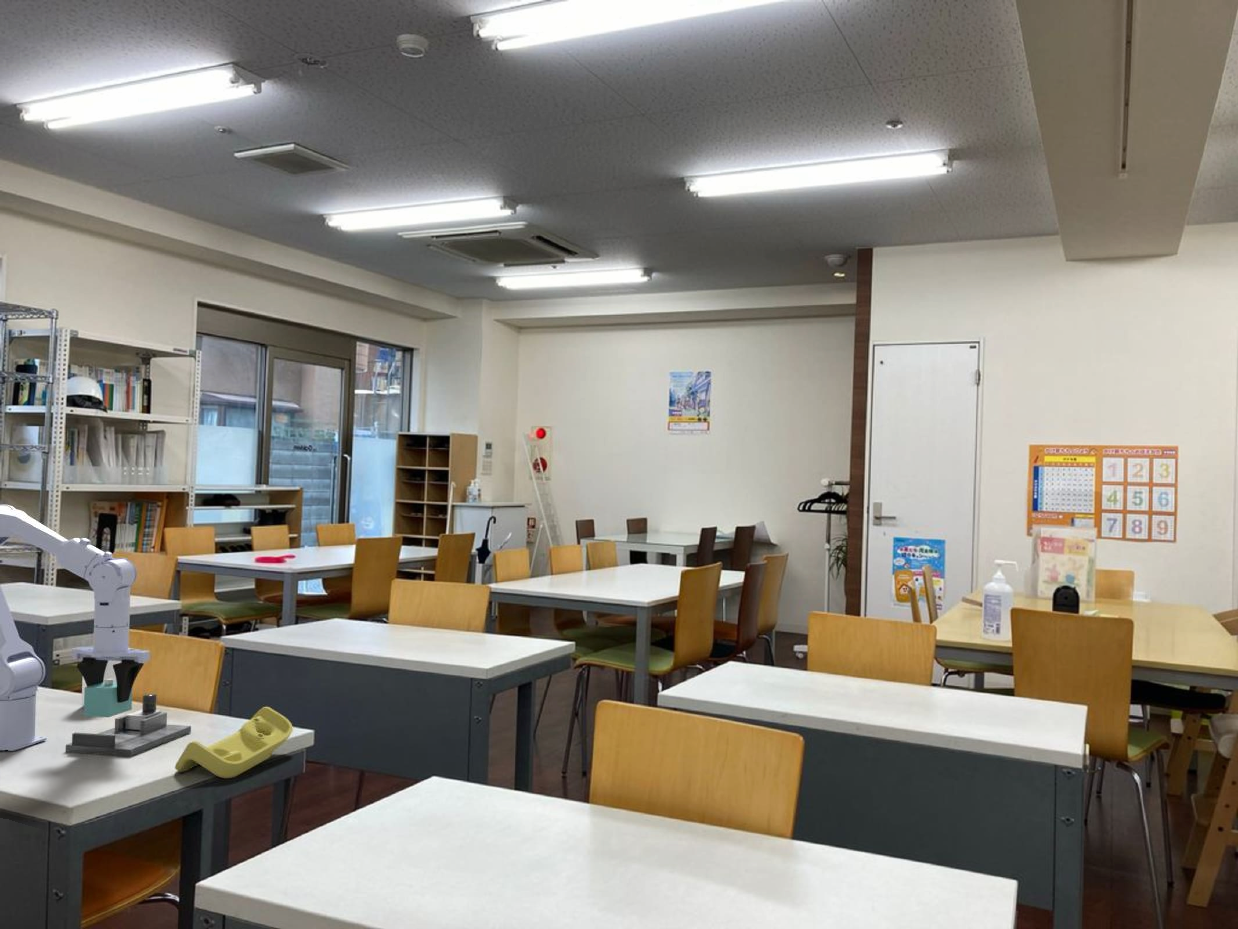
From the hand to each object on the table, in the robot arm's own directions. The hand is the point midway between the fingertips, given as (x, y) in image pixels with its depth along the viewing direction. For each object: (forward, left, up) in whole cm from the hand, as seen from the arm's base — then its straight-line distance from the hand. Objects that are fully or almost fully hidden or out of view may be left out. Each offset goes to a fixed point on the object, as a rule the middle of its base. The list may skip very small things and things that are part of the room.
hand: (109, 700), depth 173 cm
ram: (0, +10, -7) cm, 12 cm away
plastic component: (+28, -3, -9) cm, 29 cm away
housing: (0, 0, -2) cm, 2 cm away
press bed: (+2, +3, -8) cm, 9 cm away
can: (-23, +27, -9) cm, 37 cm away
